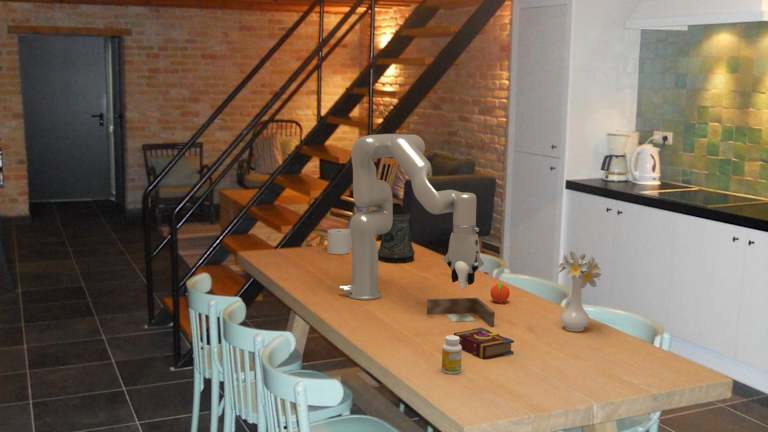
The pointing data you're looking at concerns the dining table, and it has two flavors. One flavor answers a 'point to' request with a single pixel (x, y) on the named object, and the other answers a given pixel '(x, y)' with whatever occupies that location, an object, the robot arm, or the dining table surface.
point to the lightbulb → (462, 273)
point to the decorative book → (484, 343)
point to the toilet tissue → (339, 241)
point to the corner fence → (461, 309)
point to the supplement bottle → (451, 355)
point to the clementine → (500, 293)
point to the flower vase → (578, 289)
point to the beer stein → (397, 239)
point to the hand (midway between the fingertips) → (462, 282)
